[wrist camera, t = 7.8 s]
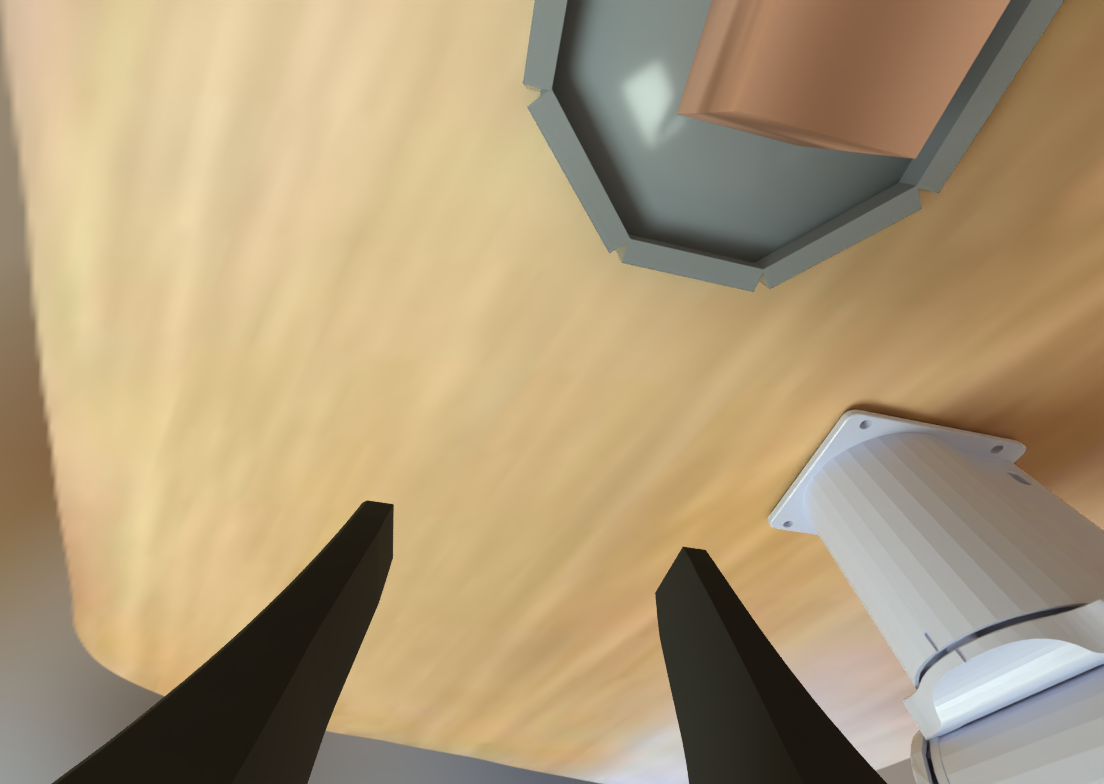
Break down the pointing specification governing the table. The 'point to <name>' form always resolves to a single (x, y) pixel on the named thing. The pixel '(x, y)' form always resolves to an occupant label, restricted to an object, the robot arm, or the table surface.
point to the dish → (726, 146)
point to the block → (836, 69)
